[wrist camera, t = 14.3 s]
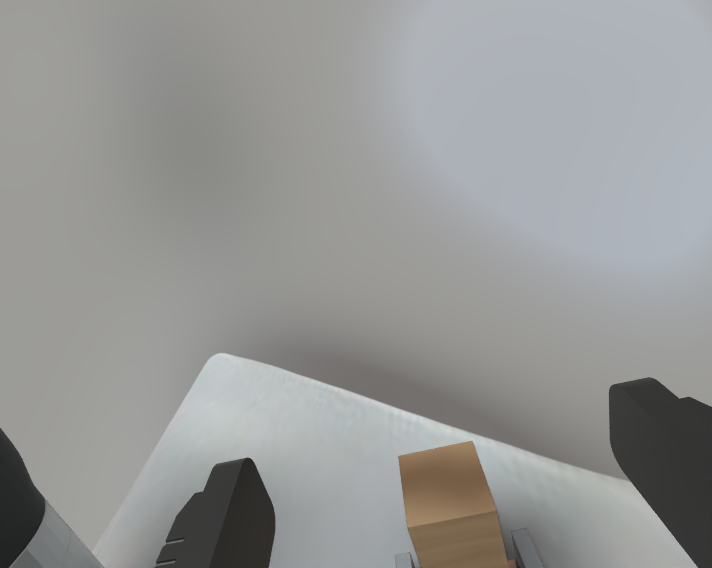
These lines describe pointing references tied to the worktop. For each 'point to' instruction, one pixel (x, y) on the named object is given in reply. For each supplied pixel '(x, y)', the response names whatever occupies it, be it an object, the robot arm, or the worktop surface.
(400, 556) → the grey cradle
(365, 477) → the worktop surface
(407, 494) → the walnut block
